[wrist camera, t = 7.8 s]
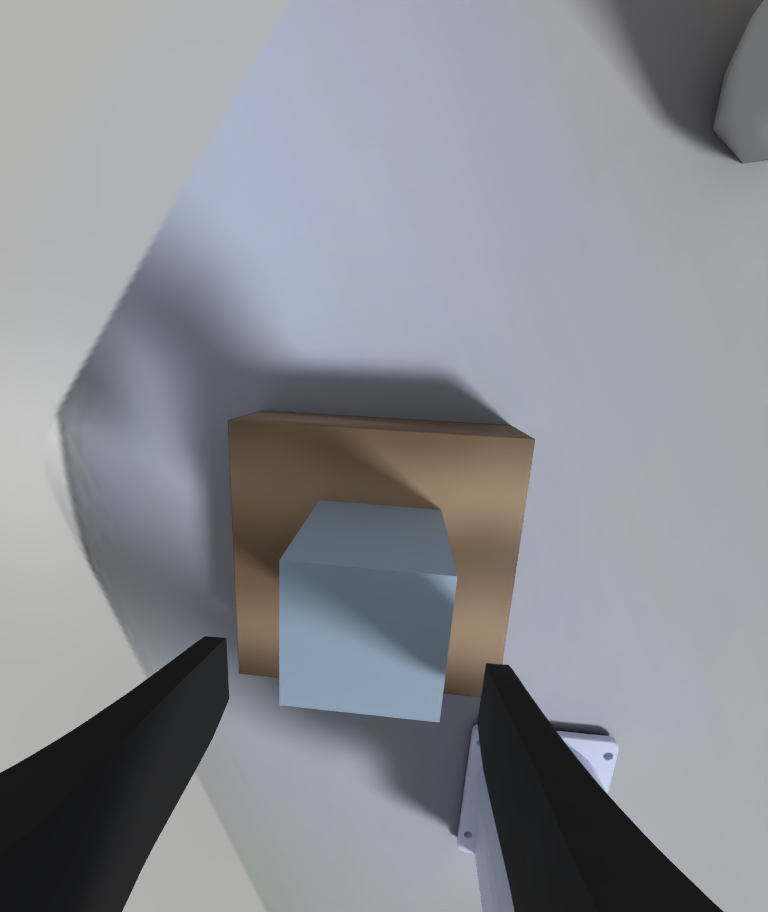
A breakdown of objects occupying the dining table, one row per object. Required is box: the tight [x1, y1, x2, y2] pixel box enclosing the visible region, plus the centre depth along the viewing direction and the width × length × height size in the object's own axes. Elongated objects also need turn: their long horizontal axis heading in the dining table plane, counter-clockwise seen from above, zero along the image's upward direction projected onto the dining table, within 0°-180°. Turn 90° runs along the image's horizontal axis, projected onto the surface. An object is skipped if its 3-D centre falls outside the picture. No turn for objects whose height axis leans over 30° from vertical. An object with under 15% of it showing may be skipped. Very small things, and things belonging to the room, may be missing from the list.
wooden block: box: [228, 411, 535, 697], centre depth 18 cm, size 12×12×4 cm
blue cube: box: [279, 500, 457, 722], centre depth 14 cm, size 5×5×5 cm
